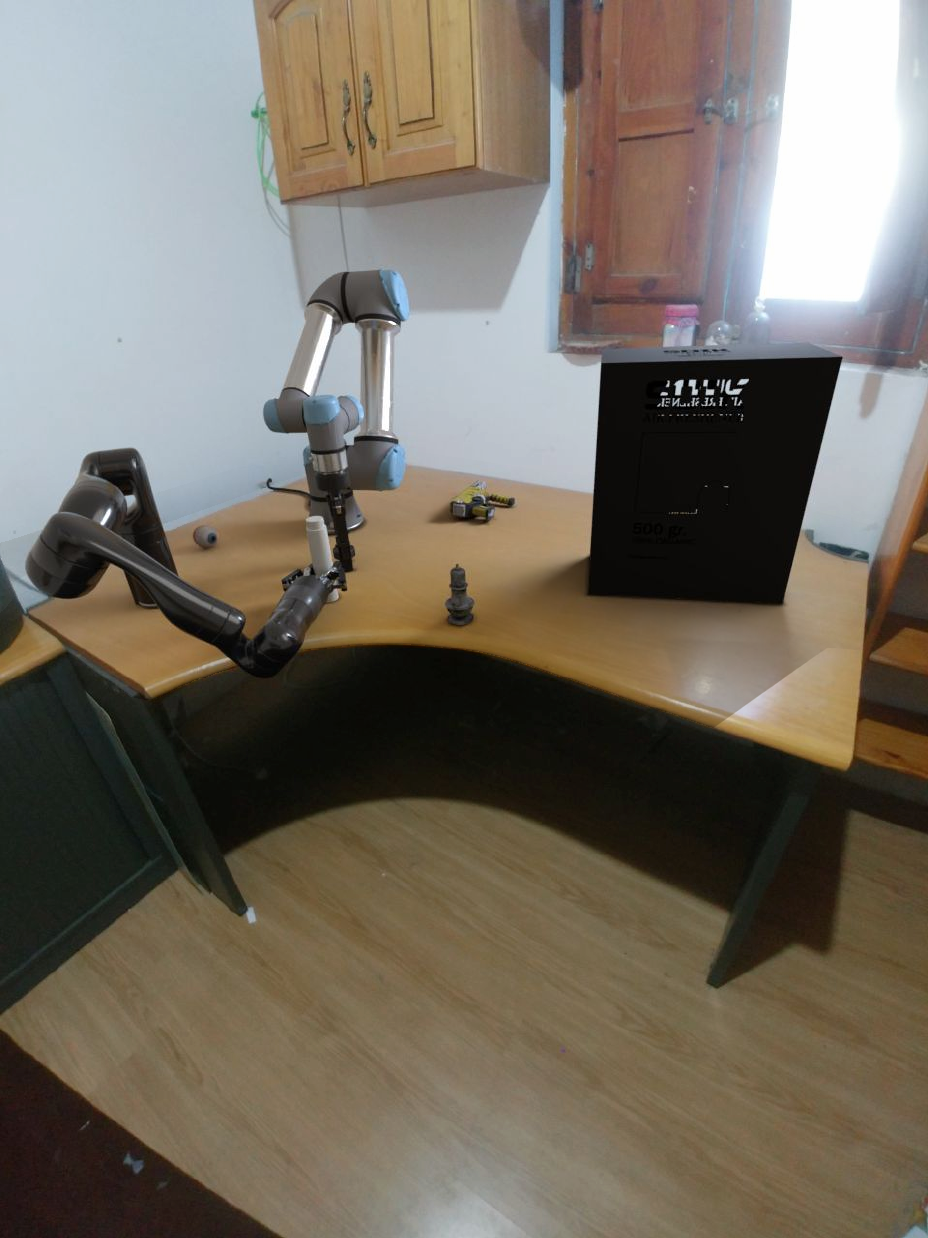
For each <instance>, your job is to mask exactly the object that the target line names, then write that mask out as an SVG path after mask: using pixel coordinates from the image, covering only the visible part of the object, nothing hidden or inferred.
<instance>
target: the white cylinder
mask: <svg viewBox="0 0 928 1238" xmlns="http://www.w3.org/2000/svg"><path fill="white" fill-rule="evenodd" d="M305 523H306V527H305V531H306V537H307V541H308V547H309V553H310V557H311V562H312V563H313V568H314V573H315V575H320V574H321V573H323V572H324V571H325V570H330V569H331V567H332V566H333V564H334V562H333V557H332V551H331V545H330V540H329V535H328V534H327V528H326V525H325V524H324V520H323V517H322V516H312V517H309V516H308V517H306V519H305ZM335 582H336V581H335ZM335 582H334V583H335ZM339 596H340V595H339V592H338V589H334V591H333V592H332V593H330V594H329V595H328V599H327V601H326V603H327V604H329V603H334V602H335V601H338V599H339ZM326 603H325V604H326Z"/></svg>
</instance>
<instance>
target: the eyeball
mask: <svg viewBox="0 0 928 1238" xmlns="http://www.w3.org/2000/svg"><path fill="white" fill-rule="evenodd" d="M192 538H193V541H194V543H195V544H196V545H197V546H198V547H200V548H202V549H209V548H212V547H214V546H215V545H216V544H217V543H218V540H219V534H218V532H217V530H216V529H215V528H214V527H213V526H210V525H208V524H201V525H198V527H196V528H195V529H194V531H193V533H192Z"/></svg>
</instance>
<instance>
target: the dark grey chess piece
mask: <svg viewBox="0 0 928 1238" xmlns="http://www.w3.org/2000/svg"><path fill="white" fill-rule="evenodd" d="M449 575H450V583H449V585H448V586H449V589H450V594H451V595H450V597H449V598H447V599H446V600H445V601H444V606H445V608H446V610H447V612H448V613H449V615H447V618H446V620H447V622H448V623H450V625H451V624H452V625H453V626H464V625H468V624H470V623H472V622H473V621H474V619H475V616H474V614H473V613H472V611H473V609H474V606H475V600H474V598H472V597H471V596H469V595H468V593H467V592H468V591H467V588H468V586H469V583H467V580H466V570H465V568H463V567H461V566H460V564H459V563H456V564H455V567H453V568H451V570H450V573H449Z"/></svg>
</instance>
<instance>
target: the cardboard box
mask: <svg viewBox="0 0 928 1238" xmlns="http://www.w3.org/2000/svg"><path fill="white" fill-rule="evenodd" d="M843 358H844V356H842V355H840V354H838V353H835V352H832V351H830V350H828V349H825V348H824V347H823V348H822V347H820V346H818V345H815V344H813V343H810V342H777V343H776V342H775V343H774V342H773V343H744V344H743V343H741V344H716V345H715V344H713V345H711V344H709V345H684V346H683V345H679V346H676V345H675V346H650V347H649V346H648V347H647V346H646V347H617V348H616V347H615V348H614V347H613V348H602V349H601V359H600V373H599V374H600V375H599V389H598V390H599V391H598V392H599V393H598V408H597V411H598V412H597V426H596V442H595V457H594V459H595V461H594V477H593V478H594V479H593V496H592V512H591V527H590V547H589V561H588V562H589V563H588V579H587V580H588V581H587V595H588V596H589V595H590V596H610V597H631V598H649V599H650V598H651V599H667V600H687V601H688V600H689V601H707V602H708V601H709V602H728V603H729V602H730V603H746V604H747V603H751V604H768V605H783V604H784V601H785V597H786V591H787V588H788V583H789V580H790V575H791V573H792V567H793V563H794V558H795V555H796V551H797V547H798V543H799V537H800V534H801V530H802V526H803V522H804V517H805V514H806V509H807V506H808V501H809V497H810V495H811V494H810V493H811V489H812V486H813V481H814V477H815V472H816V469H817V464H818V460H819V455H820V452H821V448H822V445H823V440H824V435H825V432H826V428H827V423H828V420H829V415H830V411H831V407H832V403H833V399H834V395H835V391H836V386H837V382H838V378H839V374H840V370H841V366H842V362H843ZM742 380H747V381H746V382H745V383H743V384H742V383H741V384H739V383H740V382H741V381H742ZM679 381H682V385H681V388H680V394H676V393H677V392H676V391H677V382H679ZM690 381H695V383H694V386H693V385H690ZM705 381H707V384H706V385H704V384H705ZM728 382H729V388H728V391H729V392H734V390H740V391H739V392H738V393H736V394H735V393H733V394H731V393H730V394H729V393H727V390H726V388H727V384H728ZM693 389H694V390H697V393H696V394H693ZM707 390H708V391H713V394H707ZM663 393H666V394H663Z"/></svg>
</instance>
